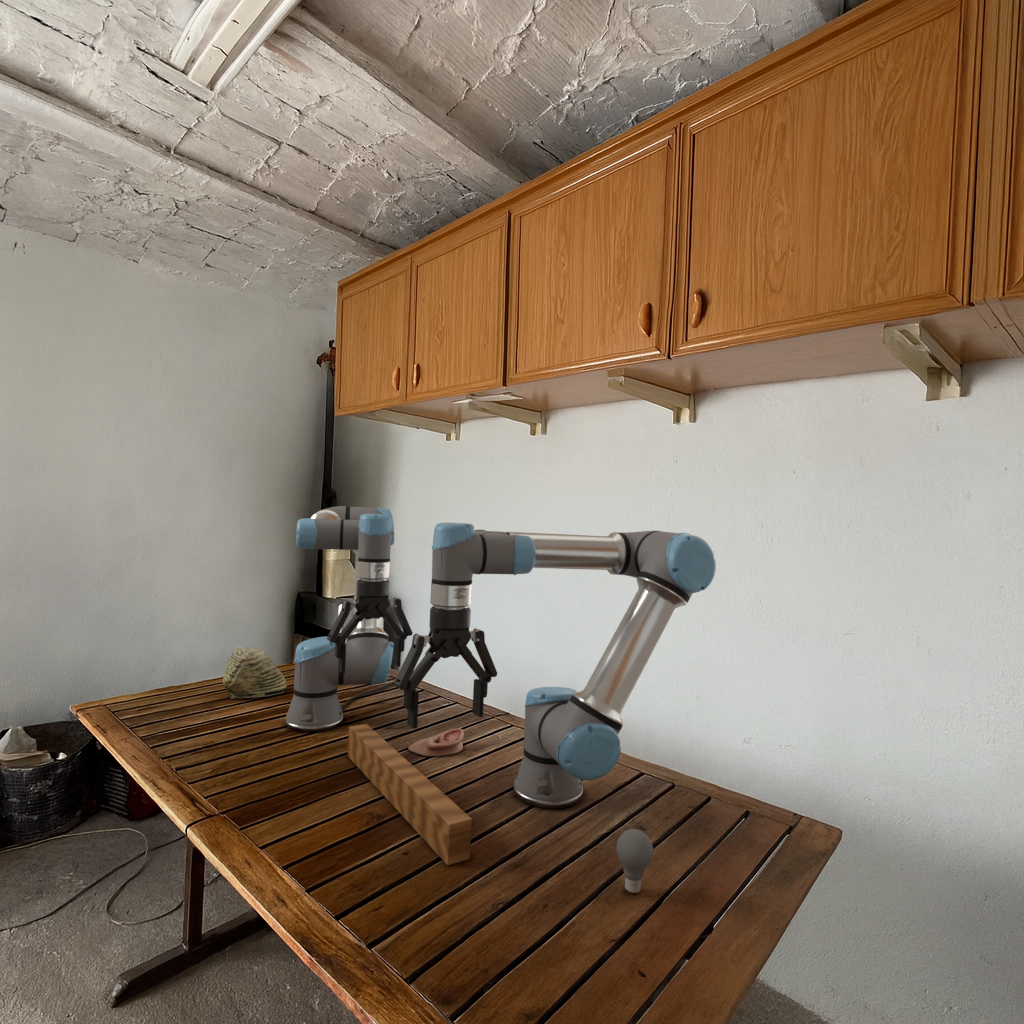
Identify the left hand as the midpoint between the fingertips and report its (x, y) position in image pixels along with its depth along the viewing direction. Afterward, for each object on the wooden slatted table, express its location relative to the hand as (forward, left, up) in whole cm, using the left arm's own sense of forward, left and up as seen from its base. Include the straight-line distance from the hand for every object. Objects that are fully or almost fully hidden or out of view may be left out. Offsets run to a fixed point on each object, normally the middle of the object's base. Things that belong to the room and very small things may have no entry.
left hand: (369, 668), depth 150 cm
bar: (+6, +19, -23) cm, 30 cm away
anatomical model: (-19, +5, -23) cm, 30 cm away
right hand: (+12, +37, 0) cm, 39 cm away
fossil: (-8, -66, -23) cm, 70 cm away
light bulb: (+1, +71, -23) cm, 75 cm away
